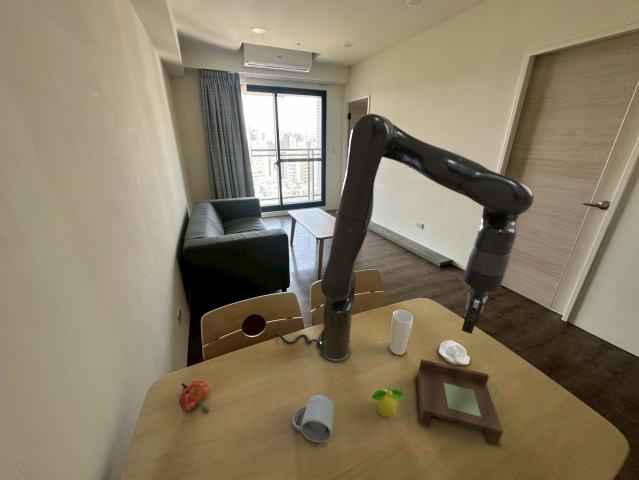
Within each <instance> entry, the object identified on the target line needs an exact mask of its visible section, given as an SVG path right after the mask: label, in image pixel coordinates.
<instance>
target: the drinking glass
mask: <svg viewBox="0 0 639 480" xmlns="http://www.w3.org/2000/svg"><path fill="white" fill-rule="evenodd" d="M413 325H414V315H413V314H412V313H411V312H409V310H405V309H396V310H394V311H393V313H392V316H391V321H390V338H389V339H390V342H389V350H390V351H391V352H392V353H393V354H395V355H396V356H397V355H398V356H401V355H404V354H405V353H406V349H407V345H408V342H409V338H410V335H411V332H412V328H413Z"/></svg>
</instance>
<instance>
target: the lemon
mask: <svg viewBox="0 0 639 480" xmlns="http://www.w3.org/2000/svg"><path fill="white" fill-rule="evenodd" d="M405 397H406V394H405V393H404V392H403V391H401V390H398V389H390V387H388V389H379V390H376V391H375V392H373V394H372V396H371V399H372V400H375V401H376V402H375V405H376V406H375V407H376V410H377V411H378V413H379V415H381V416H383V417H384V418H392V417H394V416H395V415H396V413H397V411H398V400H397V399H403V398H405Z"/></svg>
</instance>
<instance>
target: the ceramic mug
mask: <svg viewBox="0 0 639 480" xmlns="http://www.w3.org/2000/svg"><path fill="white" fill-rule="evenodd" d="M302 413H304V415H303V418H302V422H301V425H297V421H298V419H299V417H300V415H301V414H302ZM334 415H335V405H334V402H333V399H332V398H330V396H328V395H326V394H324V393H315V394H313V395H311V396H310V397H309V399H308V401H307V403H306V405H303V406H301V407H299V408H297V410H296V411H295V412H294V414H293V416H292V420H291V421H292V425H293V427H294V428H295V430H296V431H298V432H300V433H301V434H302V435H303V436H304V437H305V439H307V440H309V441H310V442H313V443H318V444H319V443H320V444H321V443H325V442H328V441H329V440H330V439H331V437H332V435H333V425H334V417H335V416H334Z"/></svg>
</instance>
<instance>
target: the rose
mask: <svg viewBox="0 0 639 480" xmlns="http://www.w3.org/2000/svg"><path fill="white" fill-rule="evenodd" d="M438 353H439V354H440V356H441V357H442V358H443V359H444V360H445V361H446V362H448V363H449V364H451V365H457V366H458V365H459V366H467V365H469V364H470V361H471V357H470V356H469V355H468V354H467V349H466V348H465V347H464V346H463V345H462V344H460V343H458V342H456V341H454V340H452V339H449V340H444V341H443V342H441V343H440V346H439V349H438Z"/></svg>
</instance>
